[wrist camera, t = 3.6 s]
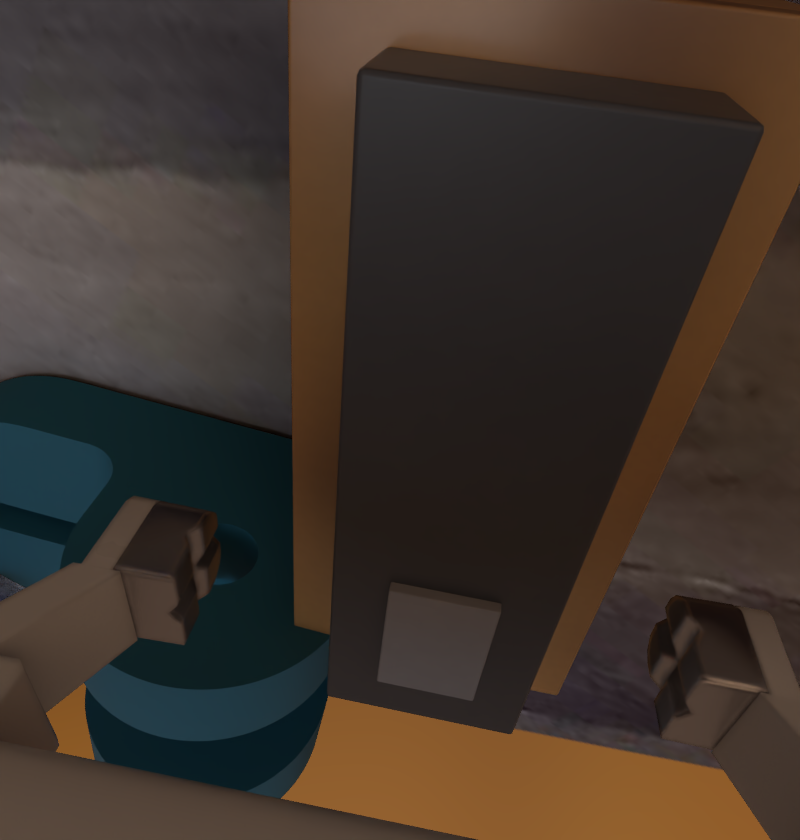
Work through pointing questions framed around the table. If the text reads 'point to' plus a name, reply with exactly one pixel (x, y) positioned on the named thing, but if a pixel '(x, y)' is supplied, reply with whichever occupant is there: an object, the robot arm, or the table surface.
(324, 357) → the shelf
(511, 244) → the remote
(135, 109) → the table surface
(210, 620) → the bracket
